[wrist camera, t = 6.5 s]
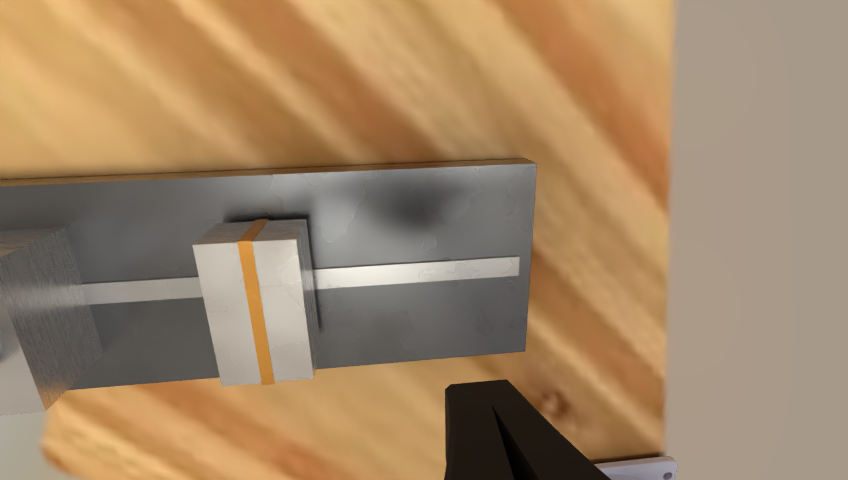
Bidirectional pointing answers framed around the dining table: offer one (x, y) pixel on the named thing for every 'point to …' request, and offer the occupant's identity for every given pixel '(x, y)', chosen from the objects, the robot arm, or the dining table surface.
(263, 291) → the block
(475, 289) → the plate
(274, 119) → the dining table surface
